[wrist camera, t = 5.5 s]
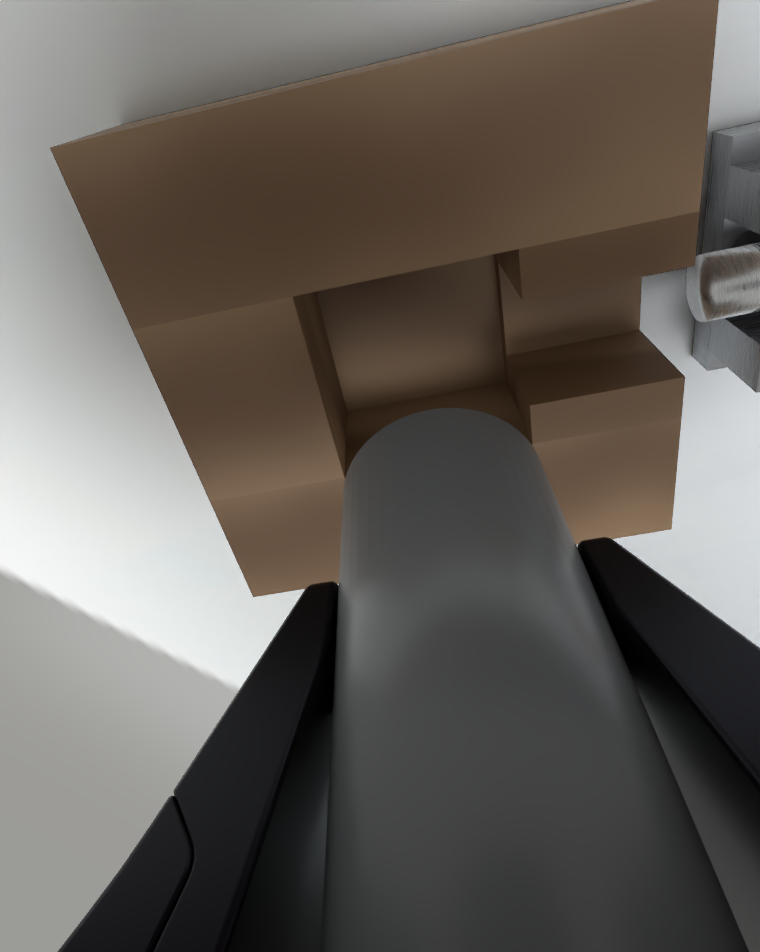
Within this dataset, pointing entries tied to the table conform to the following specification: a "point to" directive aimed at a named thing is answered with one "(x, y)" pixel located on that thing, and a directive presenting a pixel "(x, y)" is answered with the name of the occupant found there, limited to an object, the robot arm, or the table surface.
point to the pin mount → (727, 226)
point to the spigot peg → (492, 723)
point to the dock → (416, 267)
